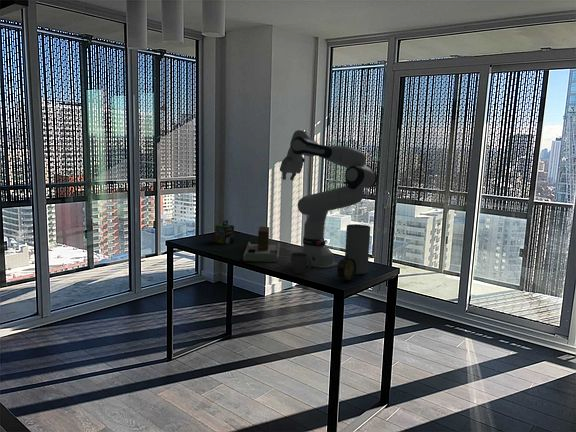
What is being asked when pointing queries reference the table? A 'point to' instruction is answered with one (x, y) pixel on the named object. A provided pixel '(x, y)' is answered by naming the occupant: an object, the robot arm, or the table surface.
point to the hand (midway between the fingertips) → (287, 179)
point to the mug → (300, 262)
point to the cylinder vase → (358, 246)
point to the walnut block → (263, 238)
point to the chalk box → (224, 233)
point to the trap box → (261, 253)
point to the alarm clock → (346, 268)
